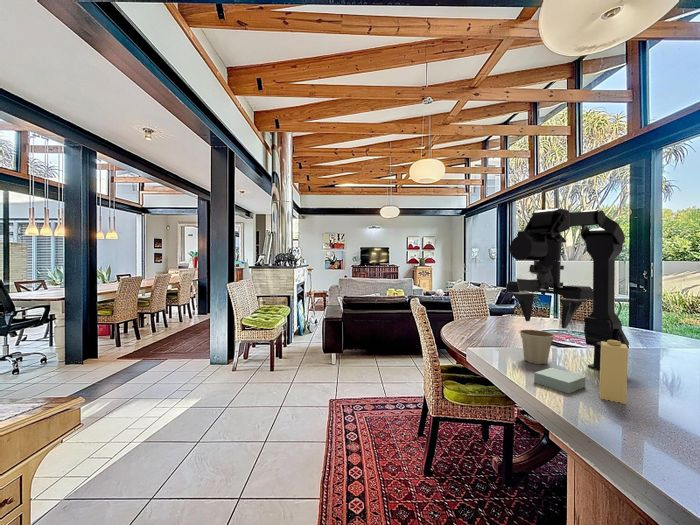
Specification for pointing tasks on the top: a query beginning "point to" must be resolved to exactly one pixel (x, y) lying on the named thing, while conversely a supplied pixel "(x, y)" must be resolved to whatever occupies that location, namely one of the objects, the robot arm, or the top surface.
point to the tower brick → (613, 371)
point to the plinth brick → (559, 380)
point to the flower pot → (536, 345)
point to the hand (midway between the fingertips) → (544, 324)
